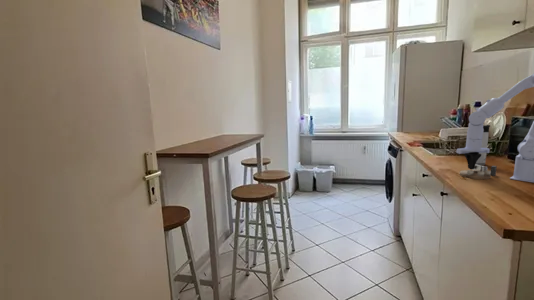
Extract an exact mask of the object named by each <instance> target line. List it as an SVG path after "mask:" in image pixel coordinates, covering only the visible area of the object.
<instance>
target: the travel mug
mask: <svg viewBox="0 0 534 300" xmlns="http://www.w3.org/2000/svg"><path fill="white" fill-rule="evenodd" d="M490 127H491V124H486V125H485V124H483V129H484V131H483V139H482V147H481V148H488V144H489V143H488V142H489V135H490ZM471 152H473V151H471ZM479 154H481V157H480V158H479V159H478V160H477V162H476V164H477V165H481V166H486V160H487V153H479Z"/></svg>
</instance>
